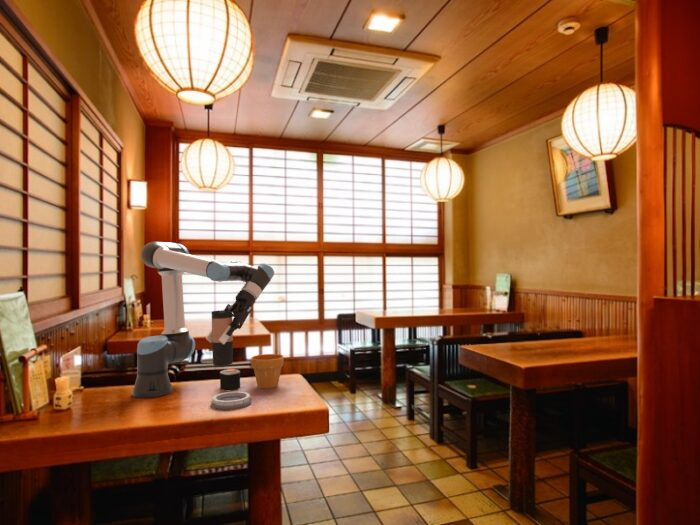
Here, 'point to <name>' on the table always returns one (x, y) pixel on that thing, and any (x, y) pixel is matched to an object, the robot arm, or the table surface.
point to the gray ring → (231, 400)
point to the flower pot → (267, 369)
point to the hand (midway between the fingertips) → (214, 341)
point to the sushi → (229, 379)
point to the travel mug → (219, 325)
